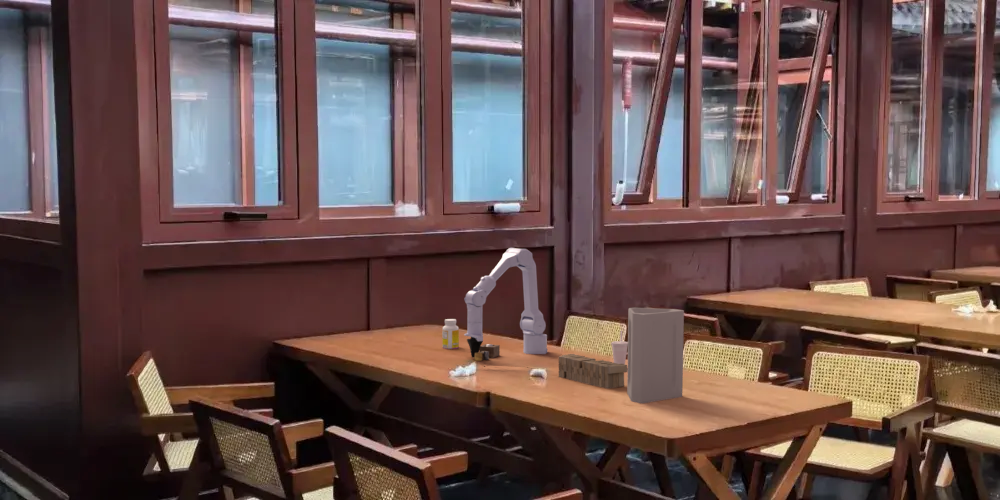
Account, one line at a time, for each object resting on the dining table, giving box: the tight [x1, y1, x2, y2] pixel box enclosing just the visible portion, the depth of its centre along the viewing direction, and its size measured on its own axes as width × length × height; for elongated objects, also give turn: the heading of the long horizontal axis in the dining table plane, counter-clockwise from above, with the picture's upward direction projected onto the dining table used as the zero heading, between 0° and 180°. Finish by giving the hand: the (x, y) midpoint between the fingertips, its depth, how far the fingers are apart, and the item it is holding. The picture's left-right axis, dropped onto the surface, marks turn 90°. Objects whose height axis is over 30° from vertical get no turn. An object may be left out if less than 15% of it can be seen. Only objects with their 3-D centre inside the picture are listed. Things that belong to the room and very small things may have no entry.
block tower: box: [558, 353, 628, 389], centre depth 369 cm, size 8×8×29 cm
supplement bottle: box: [441, 318, 460, 350], centre depth 433 cm, size 7×7×13 cm
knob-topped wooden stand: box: [474, 343, 501, 362], centre depth 408 cm, size 15×6×4 cm, turn 158°
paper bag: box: [626, 307, 685, 404], centre depth 344 cm, size 19×15×28 cm
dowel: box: [483, 351, 490, 361], centre depth 404 cm, size 2×2×4 cm
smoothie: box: [610, 330, 628, 365], centre depth 396 cm, size 6×6×14 cm
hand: (474, 357), depth 407 cm, fingers closed
